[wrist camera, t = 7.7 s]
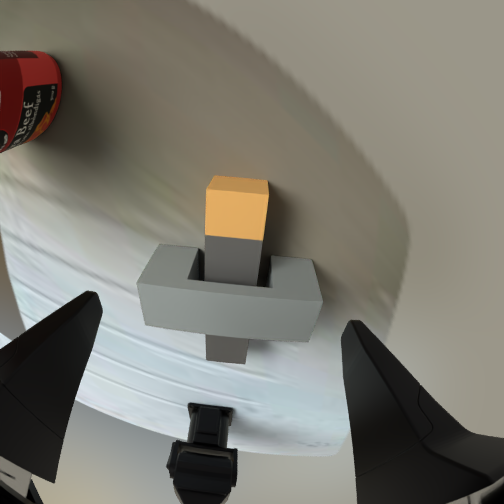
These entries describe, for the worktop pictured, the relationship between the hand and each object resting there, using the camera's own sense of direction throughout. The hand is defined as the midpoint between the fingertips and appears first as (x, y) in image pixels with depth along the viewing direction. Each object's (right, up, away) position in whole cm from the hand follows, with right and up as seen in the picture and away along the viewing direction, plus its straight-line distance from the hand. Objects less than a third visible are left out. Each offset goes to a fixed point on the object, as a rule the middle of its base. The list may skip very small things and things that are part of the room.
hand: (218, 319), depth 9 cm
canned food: (-17, +15, +5) cm, 23 cm away
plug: (0, 0, +13) cm, 13 cm away
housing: (0, +1, +13) cm, 13 cm away
